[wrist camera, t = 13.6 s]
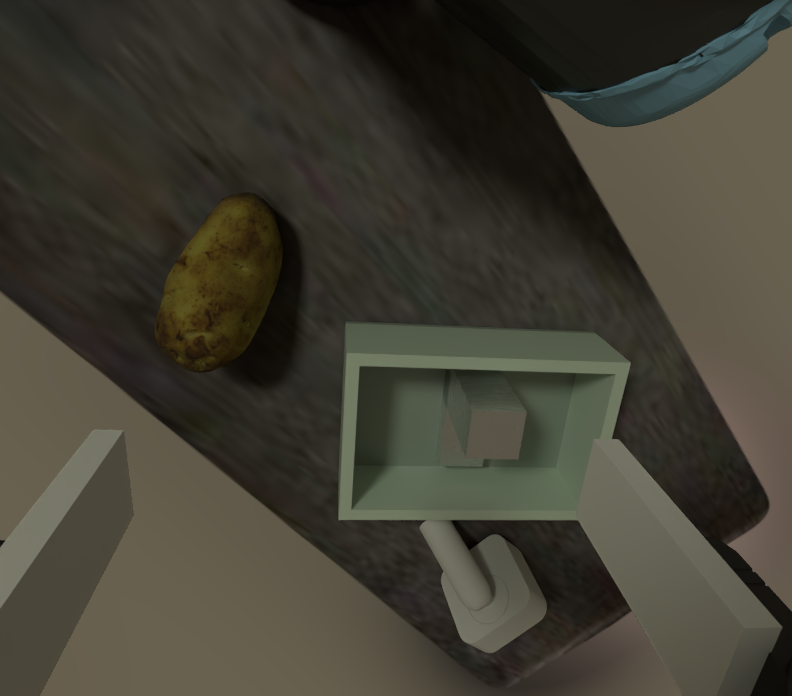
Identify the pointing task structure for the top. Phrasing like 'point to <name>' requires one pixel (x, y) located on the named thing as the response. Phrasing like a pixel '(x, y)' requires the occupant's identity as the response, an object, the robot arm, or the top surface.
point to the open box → (421, 407)
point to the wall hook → (485, 586)
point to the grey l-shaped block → (478, 419)
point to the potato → (221, 285)
